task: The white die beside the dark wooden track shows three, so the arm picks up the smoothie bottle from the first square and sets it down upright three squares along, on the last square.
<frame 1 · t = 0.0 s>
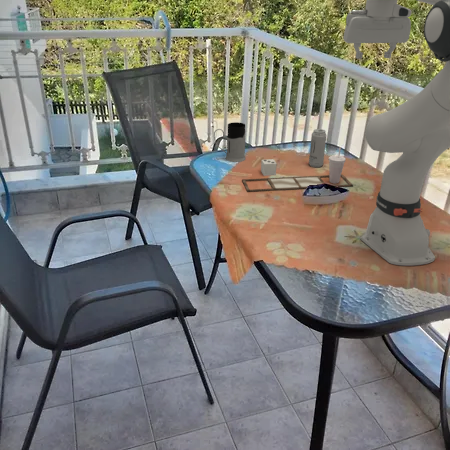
hand: (373, 58, 147), 48 cm above the table, tool pointing down, fingers open, 8 cm apart
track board: (296, 183, 180), on the table
energy drink can: (315, 165, 197), on the table
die: (268, 173, 189), on the table
smoothie: (334, 182, 182), resting in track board
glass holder: (229, 159, 203), on the table
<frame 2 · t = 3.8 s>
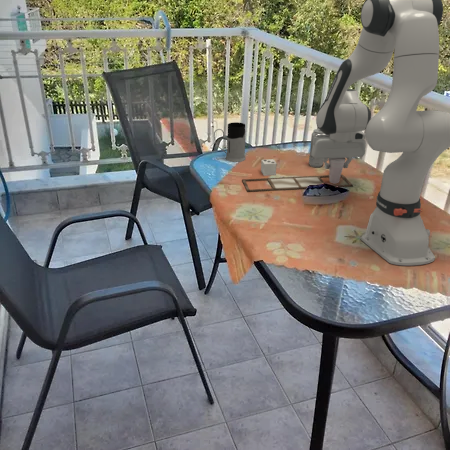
hand: (336, 168, 179), 6 cm above the table, tool pointing down, fingers closed on smoothie, 6 cm apart
smoothie: (334, 182, 182), resting in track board, touching gripper
everything else where it was.
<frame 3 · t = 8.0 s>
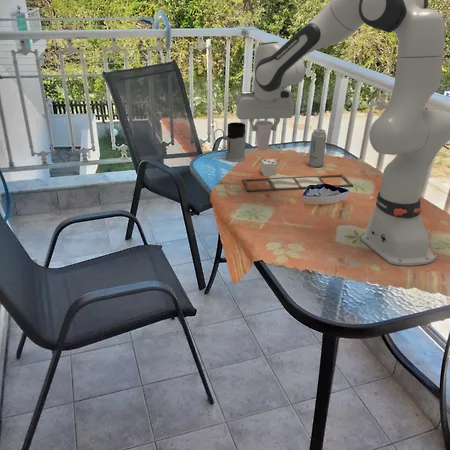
hand: (263, 130, 168), 21 cm above the table, tool pointing down, fingers closed on smoothie, 6 cm apart
smoothie: (262, 149, 171), point 14 cm above the table, touching gripper
everything else where it was.
when the fingers open (7 cm above the table, at t = 11.8 s): smoothie stays where it is, resting in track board.
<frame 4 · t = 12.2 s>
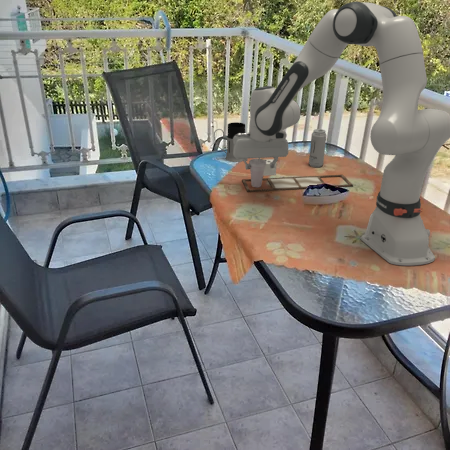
hand: (260, 168, 174), 7 cm above the table, tool pointing down, fingers open, 8 cm apart
smoothie: (256, 186, 178), resting in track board, touching gripper
everything else where it was.
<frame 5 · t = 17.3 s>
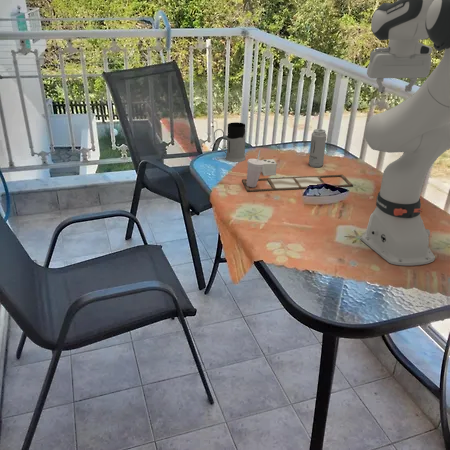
hand: (394, 91, 155), 37 cm above the table, tool pointing down, fingers open, 8 cm apart
smoothie: (251, 185, 177), resting in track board
everything else where it was.
at the end: smoothie inside the target area on the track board (3.1 cm from its centre), point 0.1 cm above the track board's base; smoothie tilted 9°; the gripper is holding nothing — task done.
